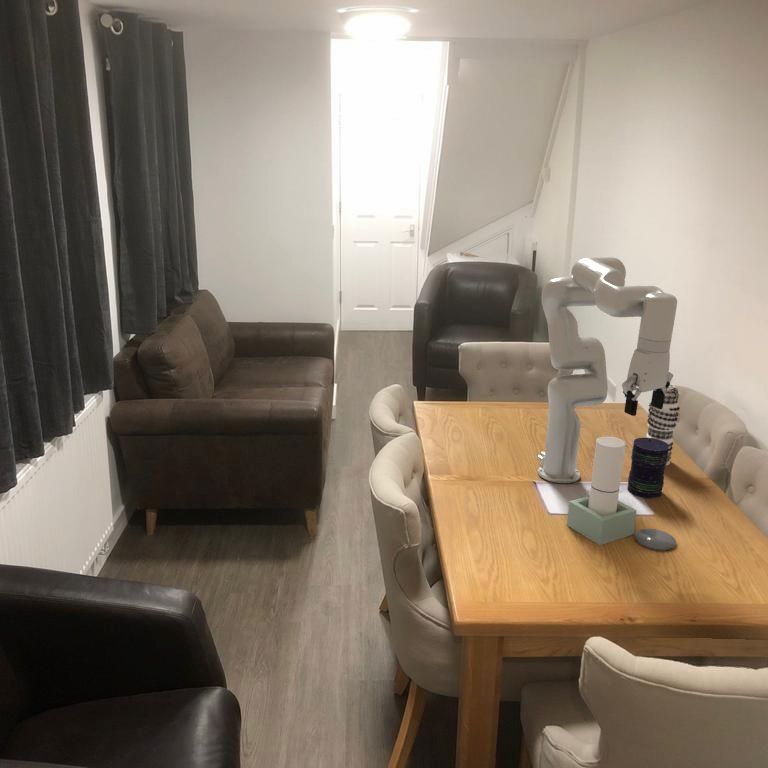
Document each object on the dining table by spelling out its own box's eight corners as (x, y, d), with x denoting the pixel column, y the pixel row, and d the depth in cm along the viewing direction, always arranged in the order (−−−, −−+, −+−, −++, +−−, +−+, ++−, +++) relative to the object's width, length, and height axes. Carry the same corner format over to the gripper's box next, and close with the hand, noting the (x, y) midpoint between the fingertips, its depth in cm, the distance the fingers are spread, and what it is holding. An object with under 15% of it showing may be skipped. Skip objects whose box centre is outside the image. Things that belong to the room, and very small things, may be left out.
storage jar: (664, 500, 224) (671, 452, 219) (628, 496, 225) (635, 448, 221) (659, 485, 233) (666, 439, 228) (625, 482, 235) (631, 435, 230)
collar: (566, 525, 208) (569, 501, 206) (599, 515, 214) (602, 492, 212) (599, 545, 198) (602, 520, 196) (633, 534, 204) (636, 510, 202)
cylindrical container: (594, 537, 202) (605, 448, 194) (580, 524, 208) (591, 437, 200) (618, 534, 204) (631, 446, 196) (604, 522, 210) (615, 435, 202)
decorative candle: (667, 455, 255) (678, 382, 247) (674, 467, 246) (686, 392, 238) (638, 453, 255) (648, 381, 248) (644, 465, 247) (655, 390, 239)
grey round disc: (626, 536, 203) (626, 534, 202) (653, 528, 208) (653, 525, 207) (656, 554, 195) (657, 551, 194) (683, 545, 199) (684, 542, 199)
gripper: (664, 336, 196) (654, 400, 201) (616, 345, 187) (607, 411, 192) (690, 344, 190) (678, 409, 195) (641, 353, 181) (631, 422, 186)
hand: (643, 410), depth 194 cm, fingers open, 9 cm apart
